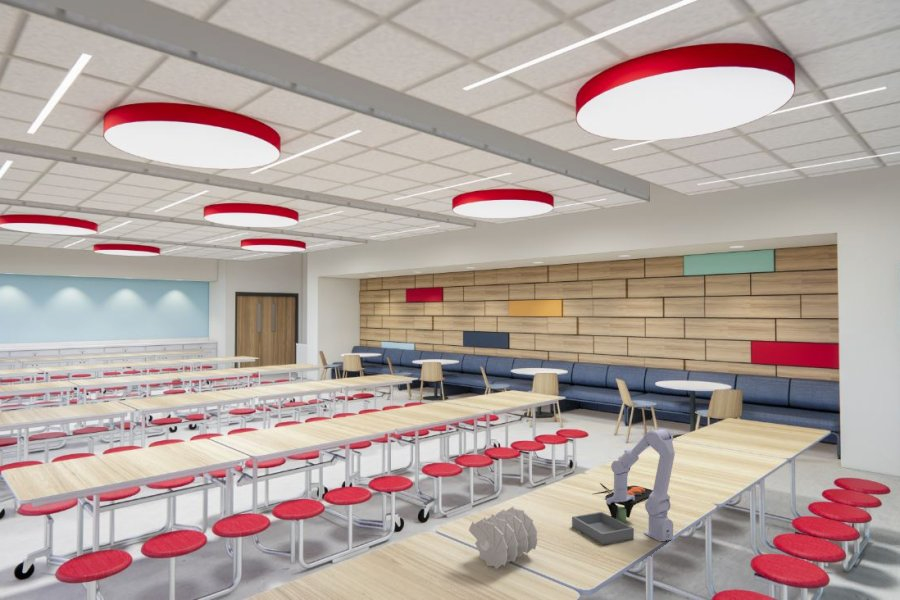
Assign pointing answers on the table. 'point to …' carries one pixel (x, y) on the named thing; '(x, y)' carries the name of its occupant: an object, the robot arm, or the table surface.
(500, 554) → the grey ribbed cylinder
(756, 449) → the table surface
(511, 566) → the table surface
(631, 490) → the sushi plate
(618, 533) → the bin
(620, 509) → the green rounded tapered piece
